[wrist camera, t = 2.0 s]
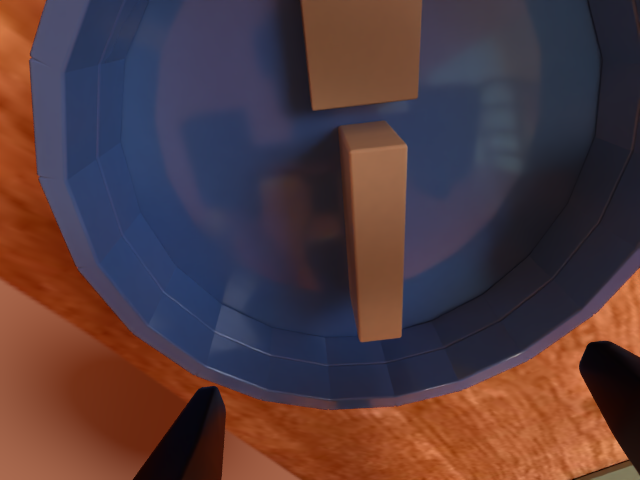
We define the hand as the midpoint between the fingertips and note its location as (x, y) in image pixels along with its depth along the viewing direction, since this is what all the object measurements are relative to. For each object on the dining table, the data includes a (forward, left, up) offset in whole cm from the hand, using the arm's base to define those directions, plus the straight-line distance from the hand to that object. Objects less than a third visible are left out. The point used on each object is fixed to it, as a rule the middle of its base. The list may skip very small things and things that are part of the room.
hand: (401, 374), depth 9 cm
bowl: (+3, +2, -6) cm, 6 cm away
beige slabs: (+3, +2, -5) cm, 6 cm away
